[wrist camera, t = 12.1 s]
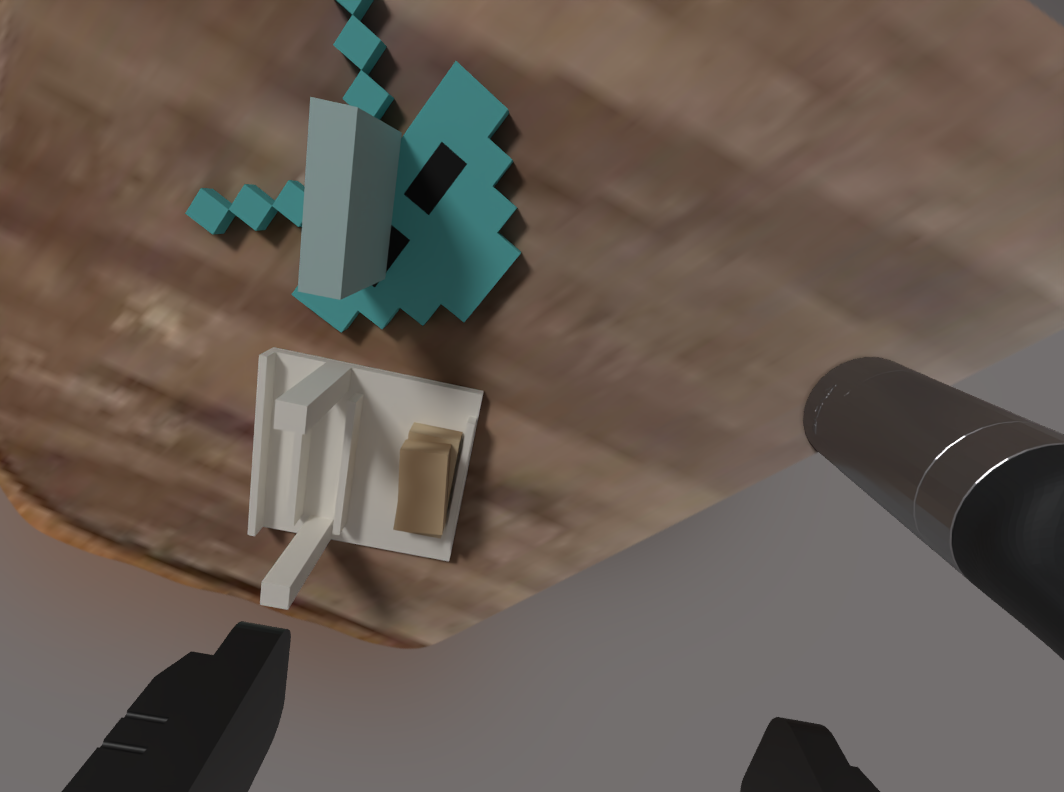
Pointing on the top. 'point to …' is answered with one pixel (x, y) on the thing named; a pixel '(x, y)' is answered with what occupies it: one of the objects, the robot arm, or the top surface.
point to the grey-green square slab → (346, 200)
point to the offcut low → (439, 436)
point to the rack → (343, 458)
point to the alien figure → (410, 197)
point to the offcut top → (423, 486)
